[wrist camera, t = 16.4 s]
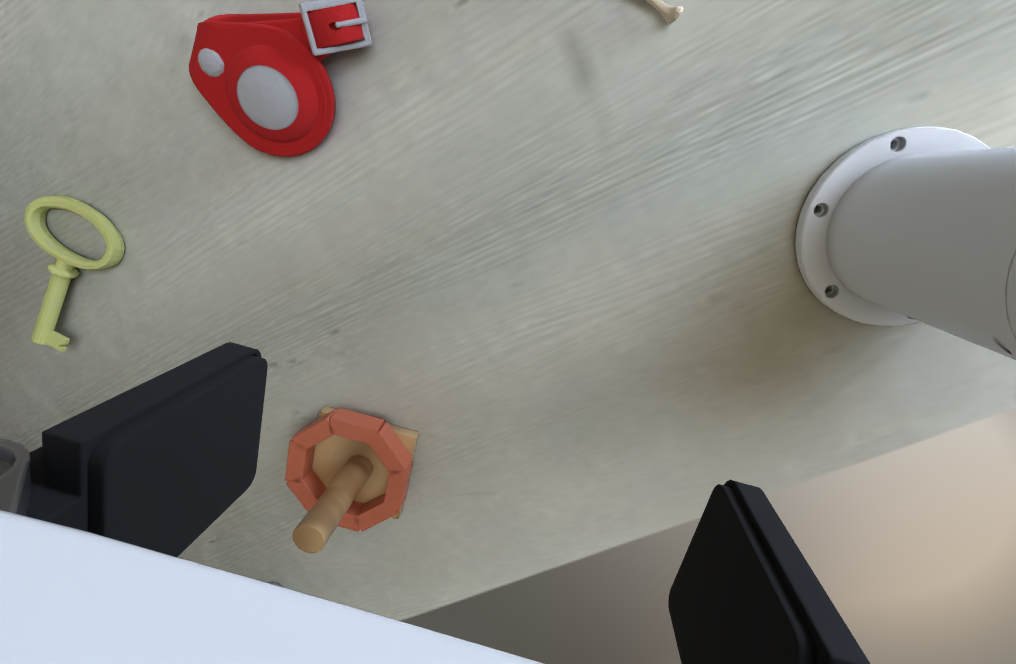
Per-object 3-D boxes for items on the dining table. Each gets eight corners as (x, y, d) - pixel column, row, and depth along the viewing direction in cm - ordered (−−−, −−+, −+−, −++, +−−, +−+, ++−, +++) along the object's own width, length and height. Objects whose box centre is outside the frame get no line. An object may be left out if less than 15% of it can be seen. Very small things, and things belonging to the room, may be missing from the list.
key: (52, 340, 44) (27, 348, 42) (36, 190, 40) (8, 190, 38) (133, 355, 43) (112, 364, 41) (124, 205, 40) (100, 206, 38)
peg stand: (419, 432, 42) (376, 505, 33) (401, 512, 45) (357, 602, 35) (325, 406, 43) (256, 471, 33) (313, 487, 45) (245, 570, 36)
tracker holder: (311, 187, 36) (162, 110, 34) (330, 167, 40) (196, 96, 37) (376, 12, 30) (201, -100, 28) (392, 7, 34) (238, -92, 31)
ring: (420, 428, 41) (413, 439, 39) (400, 527, 44) (393, 541, 42) (304, 398, 42) (293, 407, 40) (292, 497, 44) (281, 510, 43)
